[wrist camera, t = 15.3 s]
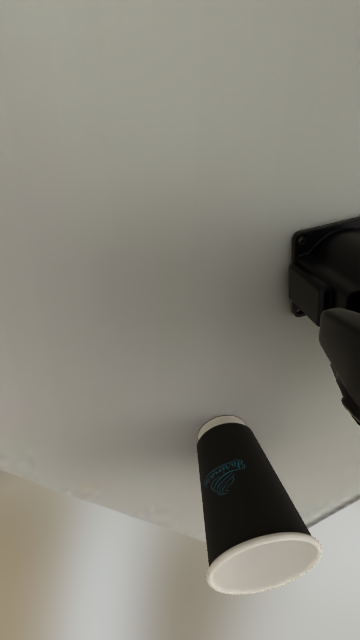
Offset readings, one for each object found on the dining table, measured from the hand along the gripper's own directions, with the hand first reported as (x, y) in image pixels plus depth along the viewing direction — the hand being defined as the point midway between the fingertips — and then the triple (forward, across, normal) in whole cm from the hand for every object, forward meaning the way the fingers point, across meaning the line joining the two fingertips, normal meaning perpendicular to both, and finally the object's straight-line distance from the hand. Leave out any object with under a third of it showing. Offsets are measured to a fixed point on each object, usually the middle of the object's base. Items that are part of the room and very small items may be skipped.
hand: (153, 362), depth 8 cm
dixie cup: (+13, -3, +20) cm, 25 cm away
